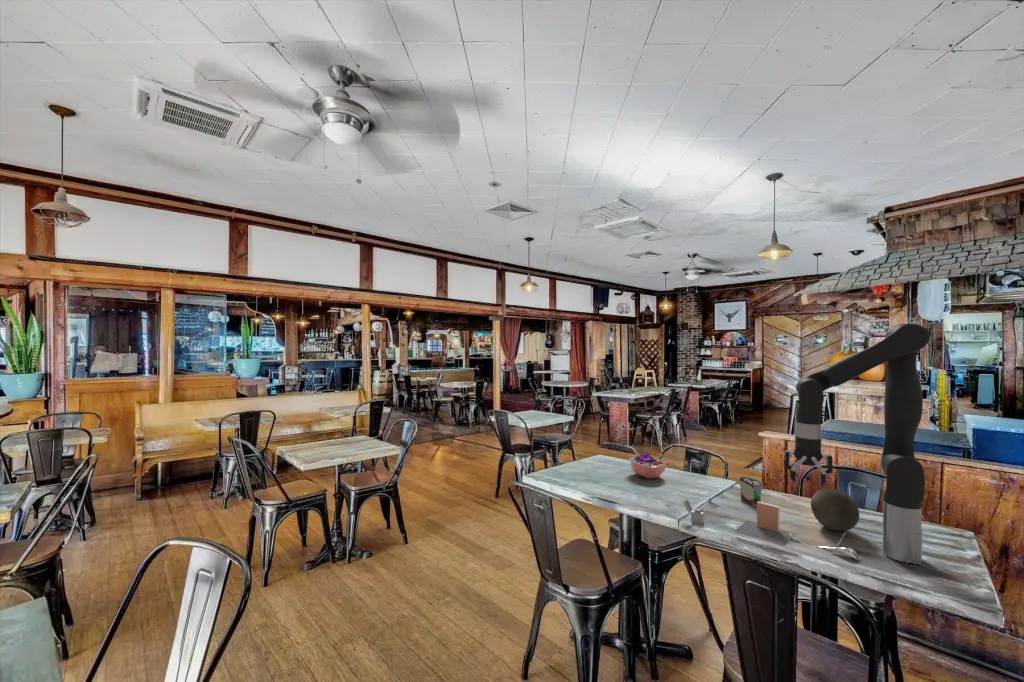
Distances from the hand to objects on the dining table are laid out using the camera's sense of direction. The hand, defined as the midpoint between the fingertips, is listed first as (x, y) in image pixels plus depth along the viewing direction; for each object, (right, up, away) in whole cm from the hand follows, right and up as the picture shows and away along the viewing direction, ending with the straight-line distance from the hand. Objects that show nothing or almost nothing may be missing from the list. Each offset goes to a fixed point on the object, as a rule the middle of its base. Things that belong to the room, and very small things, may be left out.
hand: (807, 482), depth 151 cm
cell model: (-34, -20, +71) cm, 81 cm away
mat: (-11, -20, +6) cm, 24 cm away
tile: (-8, -20, +9) cm, 23 cm away
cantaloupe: (+16, -21, +8) cm, 27 cm away
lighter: (-33, -20, +15) cm, 42 cm away
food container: (0, -20, +34) cm, 40 cm away
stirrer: (+1, -21, -6) cm, 21 cm away
